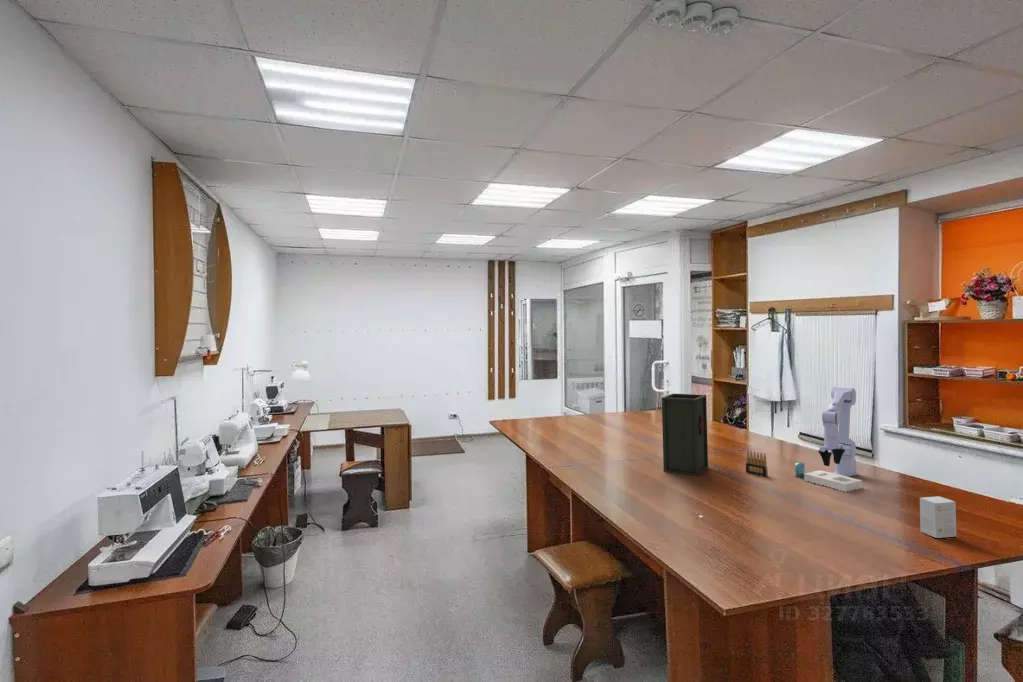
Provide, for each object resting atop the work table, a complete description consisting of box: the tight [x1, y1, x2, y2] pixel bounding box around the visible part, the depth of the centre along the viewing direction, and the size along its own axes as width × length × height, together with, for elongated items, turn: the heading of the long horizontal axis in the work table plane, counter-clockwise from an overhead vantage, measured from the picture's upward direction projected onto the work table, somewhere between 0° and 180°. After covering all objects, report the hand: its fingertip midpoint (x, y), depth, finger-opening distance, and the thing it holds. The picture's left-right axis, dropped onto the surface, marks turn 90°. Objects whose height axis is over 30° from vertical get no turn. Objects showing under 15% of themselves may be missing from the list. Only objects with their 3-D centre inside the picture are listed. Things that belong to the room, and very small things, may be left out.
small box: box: [919, 495, 957, 538], centre depth 178 cm, size 8×6×13 cm
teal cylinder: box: [794, 461, 806, 479], centre depth 251 cm, size 4×4×7 cm
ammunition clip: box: [745, 449, 769, 477], centre depth 258 cm, size 11×2×12 cm, turn 37°
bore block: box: [803, 469, 863, 493], centre depth 238 cm, size 12×20×4 cm, turn 24°
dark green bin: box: [661, 393, 709, 477], centre depth 270 cm, size 18×18×40 cm
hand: (831, 464), depth 238 cm, fingers open, 7 cm apart
